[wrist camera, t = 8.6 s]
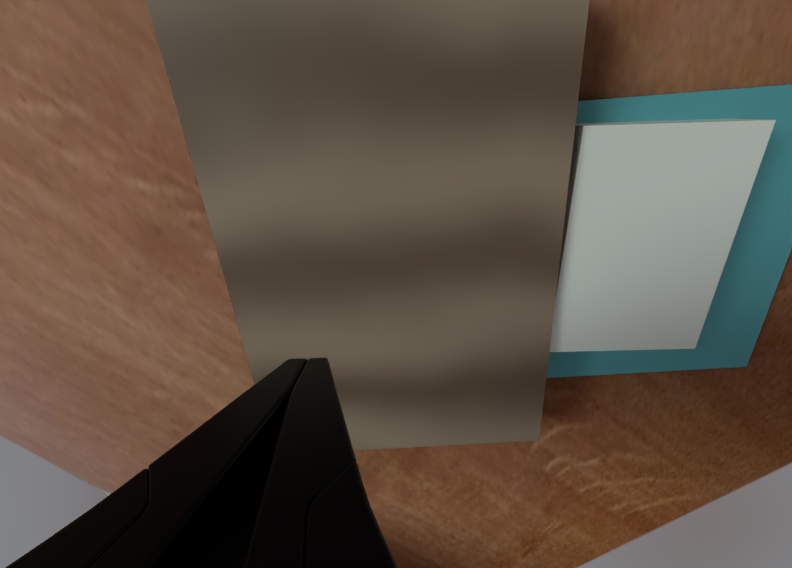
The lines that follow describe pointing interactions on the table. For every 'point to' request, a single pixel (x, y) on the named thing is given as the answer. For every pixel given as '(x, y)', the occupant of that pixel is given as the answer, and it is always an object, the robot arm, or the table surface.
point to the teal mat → (752, 246)
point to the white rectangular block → (650, 229)
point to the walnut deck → (388, 195)
